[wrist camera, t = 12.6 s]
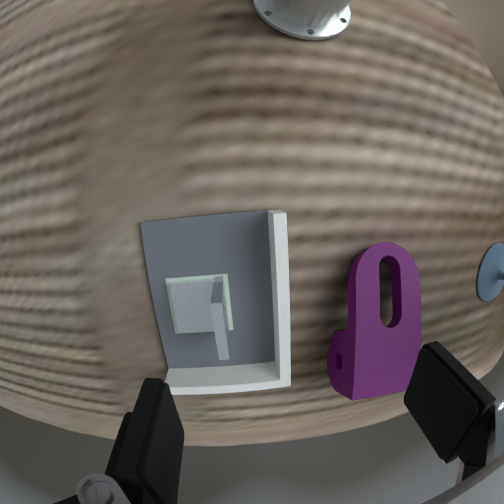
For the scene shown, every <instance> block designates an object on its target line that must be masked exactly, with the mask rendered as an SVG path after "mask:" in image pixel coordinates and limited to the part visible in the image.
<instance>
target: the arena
mask: <svg viewBox="0 0 504 504" xmlns="http://www.w3.org/2000/svg"><path fill="white" fill-rule="evenodd" d="M140 224H141V232H142V239H143V246H144V253H145V260H146V266H147V272H148V278H149V283H150V289H151V294H152V299H153V304H154V309H155V314H156V318H157V323H158V327H159V332H160V336H161V340H162V344H163V348H164V352H165V356H166V360H167V364H168V367H169V369H168V373H167V376H166V380H165V383H168V385H169V388H170V391H171V394H172V395H188V394H216V393H232V392H244V391H255V390H264V389H272V388H280V387H287V386H291V355H290V295H289V264H288V240H287V220H286V213H285V212H283V211H281V210H278V209H274V210H260V211H246V212H234V213H223V214H211V215H201V216H191V217H181V218H172V219H162V220H154V221H145V222H141V223H140ZM212 278H224V286H225V295H226V303H227V311H228V319H229V347H230V359H229V360H219V356H218V350H217V344H216V338H215V332H214V330H211V331H197V332H180V333H178V329H177V324H176V319H175V314H174V309H173V304H172V299H171V293H170V288H169V284H170V282H177V281H189V280H201V279H212Z"/></svg>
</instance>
